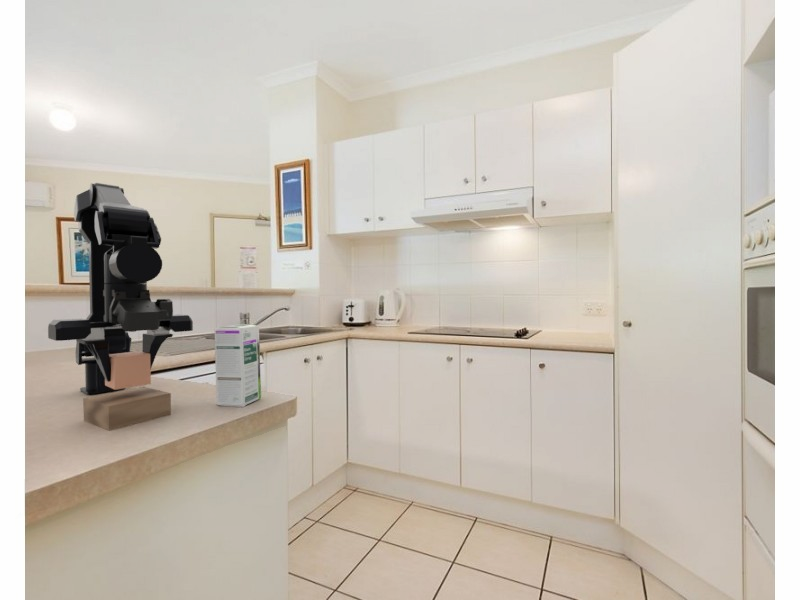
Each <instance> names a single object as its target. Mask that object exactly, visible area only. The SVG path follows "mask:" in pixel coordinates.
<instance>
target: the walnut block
mask: <svg viewBox="0 0 800 600" xmlns="http://www.w3.org/2000/svg"><path fill="white" fill-rule="evenodd" d="M171 394H172V393H171V392H169V391H168V392H167V391H163V390H160V389H154V388H152V387H147V386H138V387H133V388H130V389H125V390H124V389H122V390H117V391H114V392H108V393H102V394H98V395H92V396H88V397H87V396H86V397H83V398H82V401H83V422H86V423H88V424H92V425H93V426H96V427H98V428H100V429H104V430H106V431H109V432H110V431H113V430H117V429H122V428H126V427H129V426H132V425H137V424H141V423H145V422H148V421H152V420H156V419H160V418H164V417H167V416H171V415H172V399H171V398H172V395H171Z"/></svg>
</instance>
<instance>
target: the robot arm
mask: <svg viewBox="0 0 800 600" xmlns="http://www.w3.org/2000/svg"><path fill="white" fill-rule="evenodd" d="M124 191H125V190H124V188H122V187H120V186H119V185H112V184H106V183H100V182H94V183H90V186H89V188H88V190H84V191H83V192H81V193H80V194H77V195H76V198H75V201H74V209H73V211H74V212H73V214H74V215H73V216H74V222H78V232H79V233H80V234H81V236H82V237H83V239H84V240H85V241H86V242H87V244H88V271H89V280H88V281H89V314H88V315H87V317H86V318H72V319H71V318H69V319H64V318H63V319H53V320H52V321H50V323H48V327H47V334H48V335H47V338H48V339H50V340H53V341H56V342H58V341H61V342H62V341H73V340H76V345H75V363H76V364H77V365H78V366H80V365H84V364H85V365H84V368H85V369H84V370H85V371H84V372H85V373H84V374H85V375H84V376H85V377H84V378H85V386H84V387H80V388H79V391H81V392H83V393H84V394H86V395H94V394H101V393H102V394H103V393H106V392H108V393H109V392H112V391H114V392H115V390H114V389H112V388H110V387H108V386H106V385H105V379H106V381H108V382H109V381H111V366H110V359H109V354H117V353H127V352H131V346H132V338H131V337H130V335H129V333H130V332H131V333H135V332H137V331H138V332H139V331H146V332H145V333H142V351H141V352H145V353H149V354H150V365H151V368H152V367H153V364H154V361H155V358H156V357H157V354H158V351H159V349H160V348H161V346H162V345H163V343H164V342H165V341H166V340H167V339H169V338H172V337H173V336H174V334H173V333H171V332H170V331H171V330H172V332H174V333H179V332H180V333H181V332H182V333H183V332H191V331H193V330H194V329H193V328H194V327H193V325H194V323H193V320H192V318H191V317H190V315H189V314H187V315H186V314H174V307H173V306H174V305H173V300H171V299H170V298H158V299H156V300H155V301H152V300H151V293H150V289H148V286H147V285H148V282H149V281H152V280H154V279H156V277H158V276H159V274H160V273H161V270H162V268H163V260H162V258H161V256H160V254H159V252H158V251H157V250H156V249H159V248H160V245H161V244H162V243H161V242H162V237H161V234H160V231H159V229H158V226H157V224H156V223H155V220H154V218H153V217H151V214H150V213H149V211H148V210H147V209H145V208H143V207H139V206H134V205H132V204H131V203H130V201H129V200H128V199H127V196H125V192H124ZM124 389H125V390H126V388H123V389H122V390H124ZM116 391H121V389H117V390H116Z"/></svg>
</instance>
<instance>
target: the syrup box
mask: <svg viewBox="0 0 800 600" xmlns="http://www.w3.org/2000/svg"><path fill="white" fill-rule="evenodd" d="M213 331H214V356H215V365H214V366H215V388H216V391H215V393H216V394H215V395H216V405H217V406H221V407H224V406H225V407H239V408H240V407H242V408H244V407H246V406H247V405H249V404H251V403H253V402H255V401H258V400H261V398H262V383H261V382H262V381H261V352H260V349H261V348H260V325H259V324H251V323H249V324H248V323H246V324H245V323H243V324H233V325H225V326H220V327H219V326H218V327H215V328H214V330H213Z"/></svg>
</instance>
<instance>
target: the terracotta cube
mask: <svg viewBox="0 0 800 600" xmlns="http://www.w3.org/2000/svg"><path fill="white" fill-rule="evenodd" d="M109 359H110V366H111V381H109V382H108V381H106V379H105V385H106V386H108V387H110V388H112V389H114V391H118V390H117V389H120V390H124V389H123V388H125V389H128V388H136V387H142V386H145V385H151V383H152V380H151V379H152V376H151V374H152V372H151V370H152V367H151V365H150V354H149V353H145V352H142V351H140V350H138V351H130V352H127V353H117V354H109Z"/></svg>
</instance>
